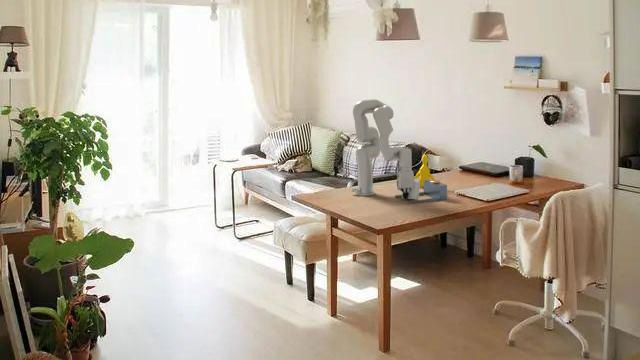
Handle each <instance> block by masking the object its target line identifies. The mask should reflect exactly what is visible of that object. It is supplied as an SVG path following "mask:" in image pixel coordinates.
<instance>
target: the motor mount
mask: <svg viewBox="0 0 640 360" xmlns="http://www.w3.org/2000/svg"><path fill="white" fill-rule="evenodd" d="M419 196H428V197H430V198H425V199H418V200H417V199H414V200H408V202H407V203H408V205H415V204H422V203H423V204H424V203H429V202H439V201H440V202H441V201H445V200H448V185H447V184H445V183H443V182H441V180H439V179H436V180H432V179H430V180H424V187H423V191H421V192H420V191H419ZM401 197H402V194H395V195H394V199H401Z"/></svg>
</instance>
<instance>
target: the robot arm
mask: <svg viewBox="0 0 640 360" xmlns="http://www.w3.org/2000/svg"><path fill="white" fill-rule="evenodd" d="M368 114H372V117H373V120H374V122H375V124H376V127H377V128H376V127H375V126H369V119H368V117H367V116H366V115H368ZM394 114H395V113H394V110H393V109H392V107H391V106H389V105H387V104H386V103H383V102H382V101H380V100H378V99H375V98H372V99H364V100H363V99H362V100H359V101H357V102H356V103H355V104H354V106H353V108H352V116H353V119H354V128H355V130H354V131H355V138H356V141H357V142H358V143H359V144H362V145H359V146H358V147H357V148H356V149H355V150H356V151H355V158H356V165H357V186H356V187H355V188H351V189H350V192H351V193H355V195H357V196H360V197H361V196H362V197H364V196H365V197H366V196H373V195H376V191H375V190H374V183H373V182H374V181H373V178H374V177H373V173H374V172H373V164H372V161H371V160H372V159H376V158H378V157H380V154H381V155H382V157H383V159H384V160H385V161H388V162H390V161H395V160H398V167H397V169H396V170H397V171H398V172H397V174H396V175H397V176H396V189H397V191H401V192H402V194H403V198H402V199H404V200H408V192H409V191H410V189H412V188H413V187H414V185H415V182H414V177H415V176H414V175H415V174H414V170H412V165H413V164H412V162H413V161H412V160H413V159H412V155H413V154H412V149H411V148H409V147H408V148H406V147H401V146H394V147H391V146H390V142H389V137H390V136H391V134H392V132H394V128H393V125H392V123H391V120H392V119H393V117H394ZM377 129H378V130H377ZM365 143H367V144H365ZM405 188H406V189H405Z"/></svg>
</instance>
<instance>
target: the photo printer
mask: <svg viewBox="0 0 640 360" xmlns="http://www.w3.org/2000/svg"><path fill="white" fill-rule="evenodd" d="M414 182H415V185H414V187H413V188H412V189H410V191H409V192H408V199H411V200H419V196H420V195H419V192H420V188H421V187H420V181H419V179H414ZM405 189H406V188H405ZM401 195H402V199H403V193H402V194H401ZM408 199H407V200H408Z"/></svg>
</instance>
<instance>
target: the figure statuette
mask: <svg viewBox="0 0 640 360" xmlns="http://www.w3.org/2000/svg"><path fill="white" fill-rule="evenodd" d="M428 161H429V158H428V155H427V154H423V155H422V157H421V162H422V166H421V167H420V168H419V170H418V172H417V173H416V175H415V176H414V179H416V180H419V181H420V187H419V188H424V180H437V179H436V178H435V177H434V176H433V175H432V174H431V169H430V167H428V165H427V164H428Z"/></svg>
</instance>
